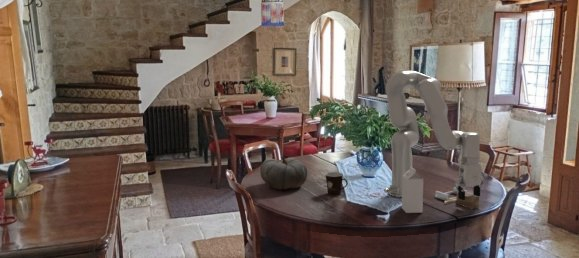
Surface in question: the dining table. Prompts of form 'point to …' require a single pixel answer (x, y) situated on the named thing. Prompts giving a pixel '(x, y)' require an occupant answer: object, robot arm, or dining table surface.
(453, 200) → the door edge strip
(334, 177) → the coffee mug
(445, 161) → the dining table surface
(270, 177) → the gourd
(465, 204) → the brown rectangular block
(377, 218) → the dining table surface
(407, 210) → the milk carton
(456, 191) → the keeper
